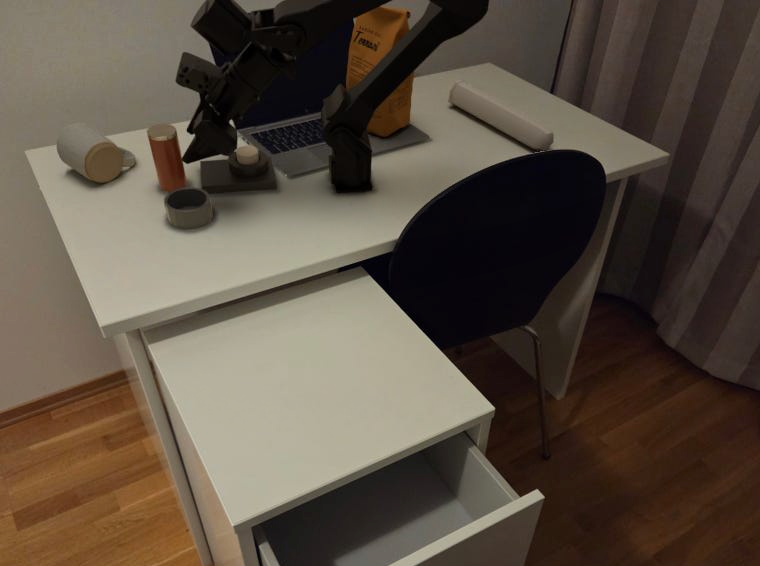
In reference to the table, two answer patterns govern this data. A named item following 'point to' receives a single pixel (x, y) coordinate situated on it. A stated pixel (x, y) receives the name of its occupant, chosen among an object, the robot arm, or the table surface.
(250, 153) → the release button
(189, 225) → the capsule holder
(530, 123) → the tube
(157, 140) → the orange metal cylinder
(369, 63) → the coffee package
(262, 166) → the plate with ring holder
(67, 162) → the ceramic mug
